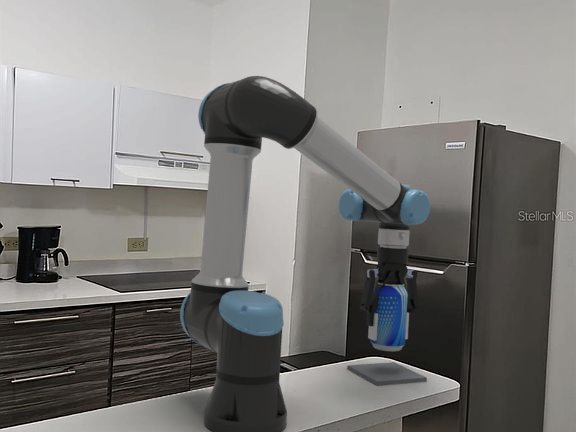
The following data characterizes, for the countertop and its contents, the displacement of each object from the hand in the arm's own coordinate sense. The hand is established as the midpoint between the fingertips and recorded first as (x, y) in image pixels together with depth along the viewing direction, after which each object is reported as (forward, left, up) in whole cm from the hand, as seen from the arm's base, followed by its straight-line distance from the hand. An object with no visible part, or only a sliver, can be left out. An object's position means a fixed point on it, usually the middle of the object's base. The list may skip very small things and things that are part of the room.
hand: (387, 338), depth 145 cm
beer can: (0, 0, -3) cm, 3 cm away
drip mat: (0, 0, -9) cm, 9 cm away
